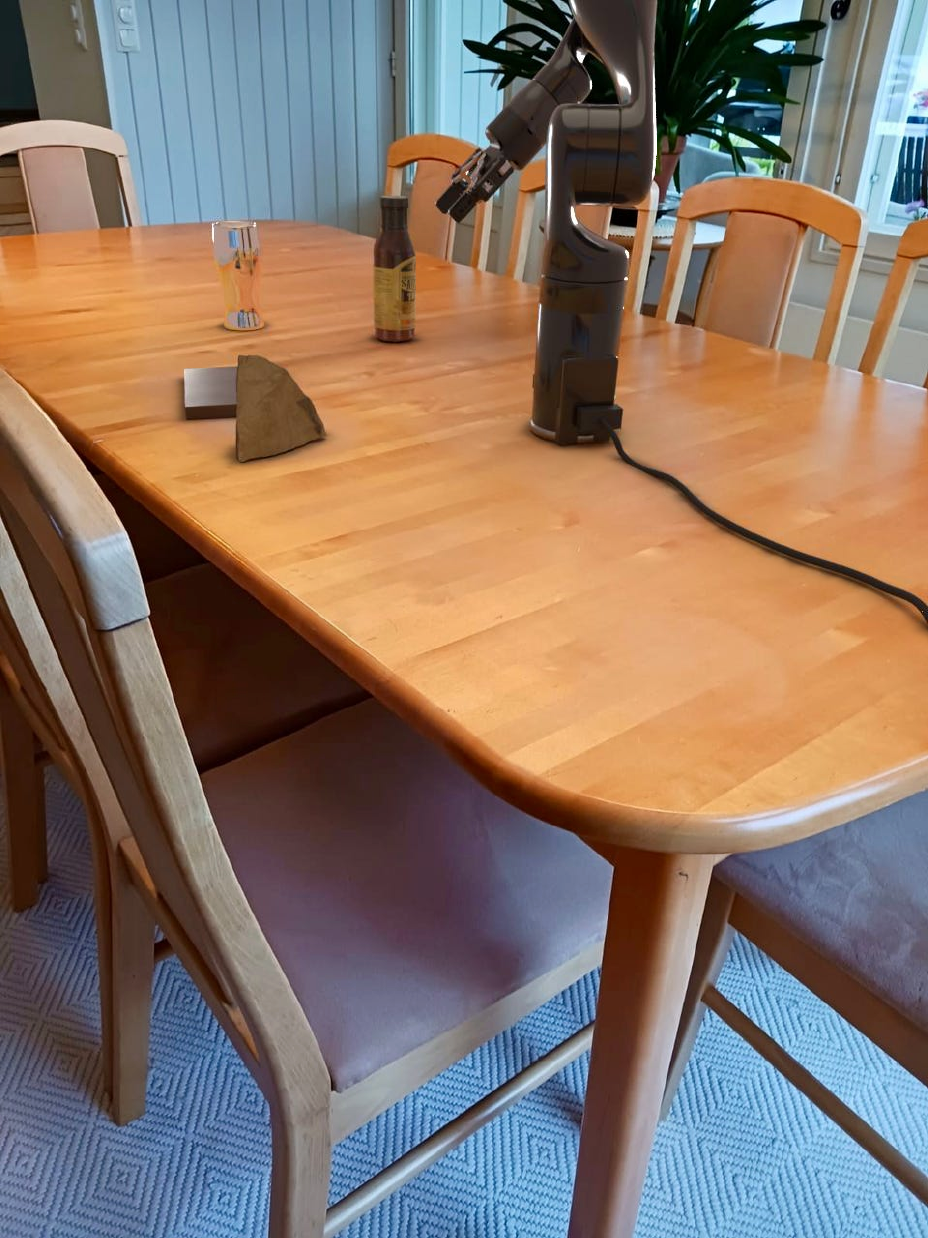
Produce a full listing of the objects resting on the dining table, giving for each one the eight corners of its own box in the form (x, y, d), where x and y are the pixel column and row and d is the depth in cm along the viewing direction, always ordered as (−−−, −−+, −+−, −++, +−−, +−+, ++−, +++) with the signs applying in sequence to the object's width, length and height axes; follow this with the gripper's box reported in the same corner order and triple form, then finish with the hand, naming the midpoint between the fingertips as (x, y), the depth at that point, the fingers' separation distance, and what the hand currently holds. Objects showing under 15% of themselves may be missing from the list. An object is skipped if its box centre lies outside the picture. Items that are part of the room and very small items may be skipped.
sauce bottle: (409, 344, 140) (409, 200, 130) (369, 341, 141) (365, 197, 131) (420, 334, 146) (420, 194, 136) (381, 331, 147) (378, 192, 137)
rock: (325, 404, 107) (235, 395, 105) (333, 357, 100) (237, 346, 97) (324, 487, 103) (231, 479, 101) (333, 444, 96) (232, 435, 93)
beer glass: (212, 327, 146) (200, 224, 139) (241, 318, 152) (231, 218, 144) (247, 333, 143) (237, 228, 136) (275, 324, 149) (267, 222, 141)
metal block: (290, 413, 112) (289, 401, 111) (186, 419, 109) (184, 407, 108) (279, 375, 125) (278, 364, 124) (185, 380, 122) (184, 368, 121)
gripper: (494, 101, 137) (417, 187, 140) (523, 106, 125) (439, 200, 128) (527, 142, 141) (451, 225, 144) (558, 150, 129) (475, 240, 132)
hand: (445, 213), depth 136 cm, fingers open, 8 cm apart
